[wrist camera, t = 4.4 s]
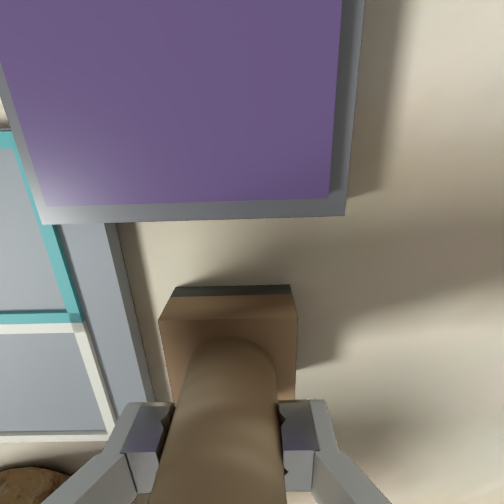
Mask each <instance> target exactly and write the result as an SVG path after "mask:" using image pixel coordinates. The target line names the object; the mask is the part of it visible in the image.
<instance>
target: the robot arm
mask: <svg viewBox="0 0 504 504" xmlns="http://www.w3.org/2000/svg"><path fill="white" fill-rule="evenodd" d="M175 408H176V406H175V403H169V402H128V403H127V404H126V406H125V407H124V408H123V410H122V412H121V414H120V416H119V418H118V420H117V422H116V424H115V427H114V429H113V431H112V433H111V435H110V437H109V439H108V441H107V443H106V445H105V447H104V449H103V451H102V453H101V454H96V455H95V456H94V457H92V458H91V459H90V460H89V461H88V462H87V463H86V464H85V465H83V466H82V467H81V468H80V469H79V470H78V471H77V472H76V473H74V474H73V475H72V476H71V477H70V478H69V479H68V480H67V481H65V482H64V483H63V484H62V485H61V486H60V487H59V488H58V489H56V490H55V491H54V492H53V493H52V494H51V495H50V496H49V497H47V498H46V499H45V500H44V501H43V502H42V503H41V504H131V503H132V502H133V500H134V499H135V498H136V497H137V493H151V490H152V487H153V483H154V480H155V477H156V473H157V470H158V466H159V463H160V460H161V456H162V453H163V449H164V446H165V443H166V439H167V436H168V432H169V429H170V425H171V422H172V419H173V415H174V412H175ZM278 413H279V425H280V431H281V447H282V458H283V466H284V476H285V488H286V491H296V492H312V493H311V494H312V495H313V497H314V499H315V500H316V502H317V503H318V504H392V503H391V502H390V501H389V500H388V499H387V498H386V497H385V496H384V494H383V493H382V492H381V491H380V490H379V489H378V488H377V487H376V486H375V485H374V483H373V482H372V481H371V480H370V479H369V478H368V477H367V476H366V475H365V473H364V472H363V471H362V470H361V469H360V468H359V467H358V466H357V465H356V464H355V462H354V461H353V460H352V459H351V458H350V457H349V456H348V455H347V454H346V453H345V451H339V448H338V445H337V441H336V437H335V434H334V430H333V426H332V423H331V419H330V415H329V412H328V408H327V405H326V402H325V400H324V399H319V400H308V399H302V400H278Z"/></svg>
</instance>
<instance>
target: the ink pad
mask: <svg viewBox="0 0 504 504" xmlns="http://www.w3.org/2000/svg"><path fill="white" fill-rule="evenodd" d="M364 6H365V0H0V97H1V100H2V103H3V106H4V110H5V113H6V116H7V119H8V122H9V125H10V128H11V131H12V134H13V137H14V140H15V143H16V146H17V149H18V152H19V155H20V158H21V161H22V164H23V167H24V171H25V174H26V177H27V180H28V183H29V186H30V189H31V192H32V195H33V198H34V201H35V204H36V207H37V210H38V213H39V216H40V219H41V222H42V225H55V224H89V223H122V222H156V221H190V220H224V219H258V218H292V217H326V216H345V207H346V196H347V185H348V175H349V164H350V154H351V143H352V133H353V122H354V111H355V101H356V90H357V80H358V69H359V59H360V48H361V37H362V27H363V16H364Z"/></svg>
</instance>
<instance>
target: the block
mask: <svg viewBox="0 0 504 504" xmlns="http://www.w3.org/2000/svg"><path fill="white" fill-rule="evenodd" d="M70 477H71V476H69V475H65V474H62V473H59V472H56V471H53V470H49V469H43V468H37V467H23V468H14V469H8V470H5V471H2V472H0V504H41V503H42V502H43V501H44V500H45V499H46V498H47V497H49V496H50V495H51V494H52V493H53V492H54V491H55V490H56V489H58V488H59V487H60V486H61V485H62V484H63V483H64V482H65V481H67V480H68V479H69V478H70Z"/></svg>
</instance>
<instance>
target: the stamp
mask: <svg viewBox="0 0 504 504" xmlns="http://www.w3.org/2000/svg"><path fill="white" fill-rule="evenodd" d="M297 322H298V317H297V313H296V308H295V304H294V300H293V296H292V292H291V288H290V285H255V286H216V287H176V288H175V289H174V291H173V293H172V295H171V297H170V299H169V300H168V302H167V304H166V306H165V308H164V310H163V312H162V314H161V315H160V317H159V319H158V325H159V330H160V335H161V340H162V345H163V350H164V356H165V361H166V366H167V371H168V376H169V382H170V387H171V392H172V397H173V402H174V403H175V406H176V408H175V412H174V415H173V419H172V422H171V425H170V429H169V432H168V436H167V439H166V443H165V446H164V449H163V453H162V456H161V460H160V463H159V466H158V470H157V473H156V477H155V480H154V483H153V487H152V490H151V494H150V497H149V500H148V504H287V499H286V488H285V476H284V466H283V458H282V447H281V431H280V425H279V413H278V400H295V383H296V352H297Z"/></svg>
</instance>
